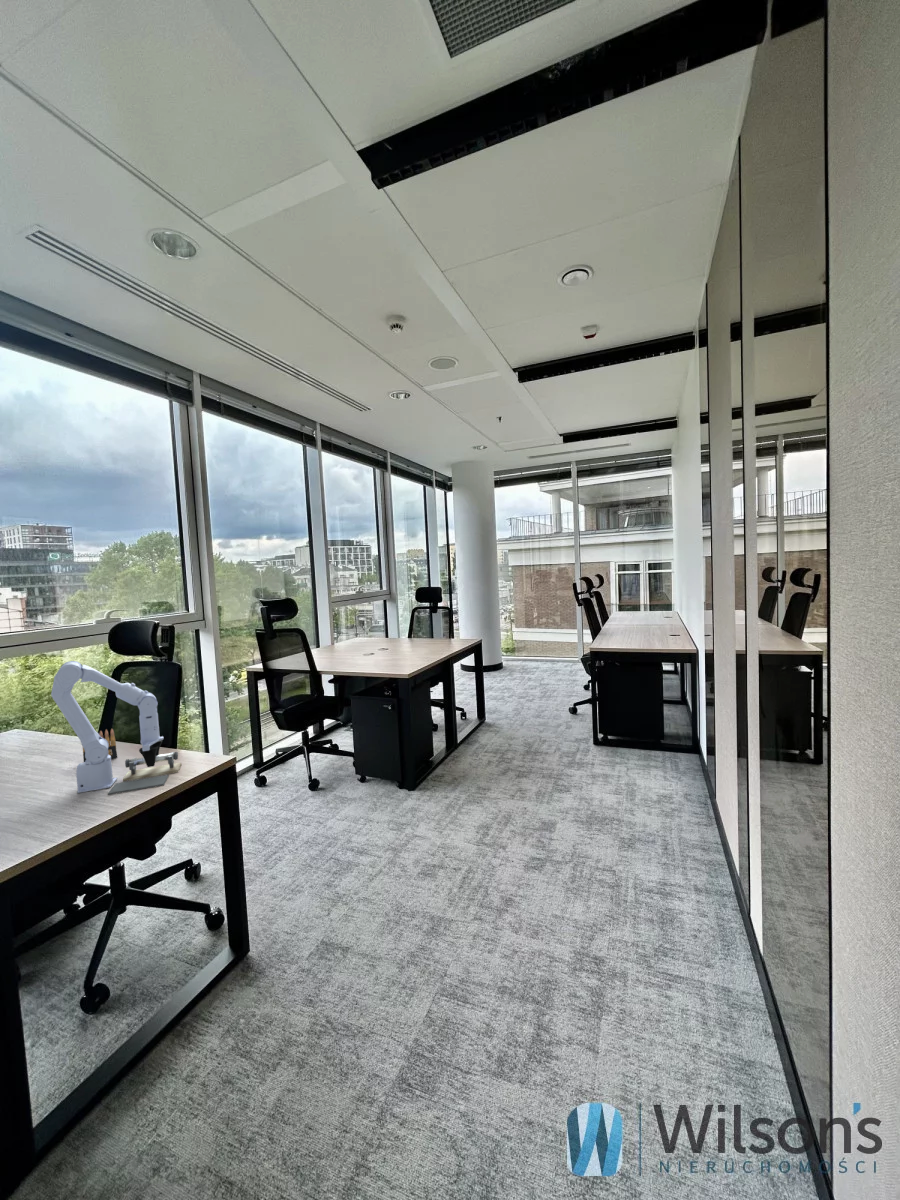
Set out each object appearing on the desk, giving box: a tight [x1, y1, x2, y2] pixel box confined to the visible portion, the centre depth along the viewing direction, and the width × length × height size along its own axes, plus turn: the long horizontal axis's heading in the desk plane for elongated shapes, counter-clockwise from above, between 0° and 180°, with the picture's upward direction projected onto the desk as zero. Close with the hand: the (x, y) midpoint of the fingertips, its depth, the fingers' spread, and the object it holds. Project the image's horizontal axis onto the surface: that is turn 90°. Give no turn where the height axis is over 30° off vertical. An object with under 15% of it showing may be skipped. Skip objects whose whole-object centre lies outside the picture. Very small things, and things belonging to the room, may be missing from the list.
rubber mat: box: [107, 774, 169, 796], centre depth 161 cm, size 16×8×1 cm, turn 110°
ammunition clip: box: [82, 728, 118, 763], centre depth 186 cm, size 11×2×12 cm, turn 127°
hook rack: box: [122, 751, 182, 782], centre depth 171 cm, size 17×7×6 cm, turn 110°
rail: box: [124, 751, 179, 768], centre depth 171 cm, size 16×3×3 cm, turn 110°
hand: (152, 763), depth 171 cm, fingers open, 4 cm apart
